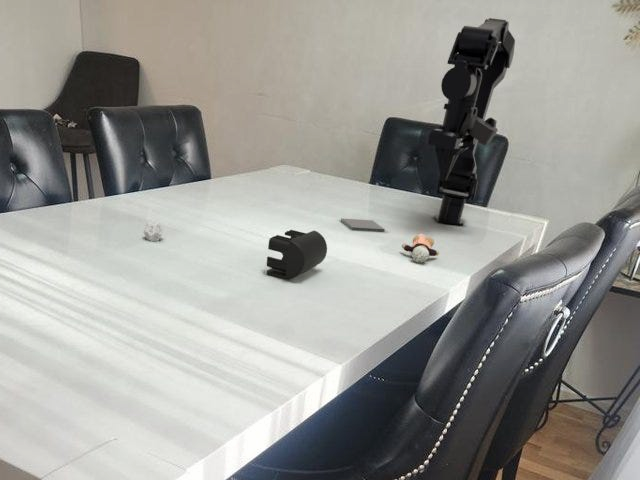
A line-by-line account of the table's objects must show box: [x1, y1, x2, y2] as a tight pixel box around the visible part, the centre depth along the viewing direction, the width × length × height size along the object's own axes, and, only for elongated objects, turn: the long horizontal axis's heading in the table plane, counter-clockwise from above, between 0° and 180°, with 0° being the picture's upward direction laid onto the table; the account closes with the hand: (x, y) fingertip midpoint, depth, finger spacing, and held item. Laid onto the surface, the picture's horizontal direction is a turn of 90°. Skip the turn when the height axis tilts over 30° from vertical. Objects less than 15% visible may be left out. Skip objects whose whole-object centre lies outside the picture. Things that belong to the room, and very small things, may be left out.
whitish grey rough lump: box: [143, 221, 164, 242], centre depth 121 cm, size 4×4×3 cm
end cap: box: [266, 229, 328, 281], centre depth 113 cm, size 10×7×7 cm
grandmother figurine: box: [401, 233, 440, 264], centre depth 133 cm, size 8×4×13 cm
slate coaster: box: [340, 218, 386, 233], centre depth 151 cm, size 8×8×1 cm
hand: (443, 180), depth 144 cm, fingers closed
